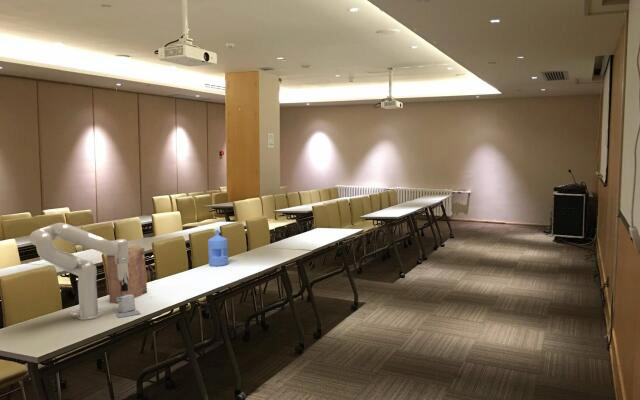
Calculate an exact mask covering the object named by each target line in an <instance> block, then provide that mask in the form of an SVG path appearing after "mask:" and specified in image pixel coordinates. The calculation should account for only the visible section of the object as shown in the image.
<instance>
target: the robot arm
mask: <svg viewBox="0 0 640 400" xmlns="http://www.w3.org/2000/svg"><path fill="white" fill-rule="evenodd" d="M28 238H29V242H30V243H31V245H33V246H35V247H36V252H37V255H38V256H39V257H40V259H42V260H43V261H45V262H47V263H50V264H52V265H54V266H55V267H57V268H58V269H60V270H63V271H65V272H68V273H69V274H73V275H75V276H77V277H78V280H77V290H78V294H77V295H78V305H79V308H78V310H76V311H71V312H70V316H71V317H72V316H73V317H75V316H76V317H77V319H78V320H83V321H84V320H85V321H86V320H88V321H89V320H93V319H96V318H100V317H101V316H102V312H101V311H99V302H98V301H99V300H98V287H97V276H98V274H97V273H98V270H97V266H96V264H95V263H93V262H92V261H91V260H90V261H89V260H86V259H83V258H81V257H79V256H77V255H74V254H73V253H71V252H67V251H65V250H62V249H60V248H59V247H56V246H55V245H54V241H55V240H57V239H60V240H64V241H66V242H69V243H72V244H74V245H77V246H80V247H83V248H87V249H90V250H94V251H97V252H100V253H101V254H104V255H106V256H107V255H111V256H112V255H115V263H116V264H117V277H118V279H119V280H120V281H121V287H122V291H128V285H127V280H128V279H129V273H128V264H127V263H129V255H128V248H129V245H128V240H127V239H124V238H120V239H115V240H108V239H106V238H103V237H101V236H98V235H96V234H93V233H91V232H89V231H86V230H84V229H81V228H78V227H76V226H73V225H71V224H69V223H65V222H55V223H52V224H50V225H47V226H44V227H41V228H38V229H35V230H34V231H32V232H31V233H30V235H29V237H28Z"/></svg>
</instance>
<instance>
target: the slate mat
mask: <svg viewBox="0 0 640 400" xmlns="http://www.w3.org/2000/svg"><path fill="white" fill-rule="evenodd" d="M141 313H142V312H140V311H139V310H131V311H128V312H124V313H121V312H119V313H115V316H116V317H117V319H121V318H126V317H127V318H128V317H133V316H139V315H142V314H141Z"/></svg>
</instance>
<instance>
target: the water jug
mask: <svg viewBox="0 0 640 400" xmlns="http://www.w3.org/2000/svg"><path fill="white" fill-rule="evenodd" d="M207 248H208V249H207V250H208V254H207V255H208V265H209V266H210V267H224V266H228V265H229V255H228V238H226V237H224V236H222V235H220V230H219V229H216V230H214V236H212V237H211V238H209V239H208V240H207Z"/></svg>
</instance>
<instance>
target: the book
mask: <svg viewBox="0 0 640 400" xmlns="http://www.w3.org/2000/svg"><path fill="white" fill-rule="evenodd" d="M128 255H129V263H127V264H128V273H129V279H128V280H127V285H128V291H122V287H121V281H120V280H119V279H118V277H117V264H116V263H115V255H112V256H111V255H107V254H106V266H107V267H106V269H107V279H108V281H107V282H108V284H107V285H108V293H109V295H108V296H109V297H108V298H109V303H110V304H112V303H113V304H118V297H122V296H126V295H134V299H136V298H138V297H141V296H143V295H146V294H147V293H148V290H147V289H148V287H147V285H148V284H147V274H146V273H147V272H146V257H145V255H146V253H145V248H144V247H141V248H133V247H128Z"/></svg>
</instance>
